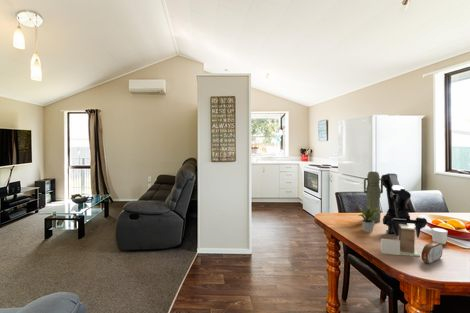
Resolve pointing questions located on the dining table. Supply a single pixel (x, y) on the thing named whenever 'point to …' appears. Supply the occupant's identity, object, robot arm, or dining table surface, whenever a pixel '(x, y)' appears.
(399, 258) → the dining table surface
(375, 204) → the thermos
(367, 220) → the house plant
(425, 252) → the tin
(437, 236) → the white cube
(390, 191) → the robot arm
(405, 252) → the pad
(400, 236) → the marked block
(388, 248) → the low screen
